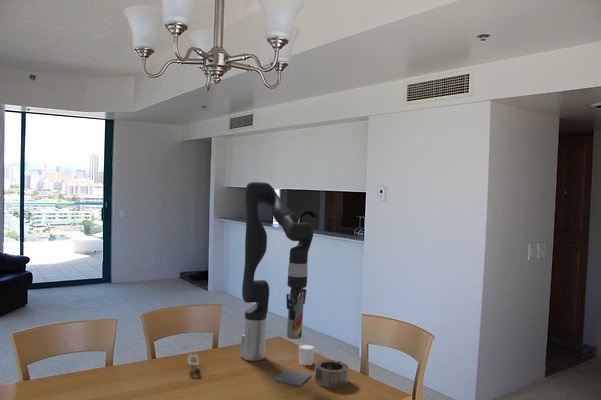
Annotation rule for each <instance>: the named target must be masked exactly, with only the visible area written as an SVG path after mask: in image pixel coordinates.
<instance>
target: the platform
mask: <svg viewBox="0 0 601 400" xmlns="http://www.w3.org/2000/svg"><path fill="white" fill-rule="evenodd" d="M187 364H188V365H190V374H194V375H196V374H197V373H196V369H197V365H199V364H200V362H199V355H198V354H197V353H194V354H190V355H188V356H187Z"/></svg>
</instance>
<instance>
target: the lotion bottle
mask: <svg viewBox="0 0 601 400" xmlns="http://www.w3.org/2000/svg"><path fill="white" fill-rule="evenodd" d="M298 293H302V288H298ZM303 301H304V299H303V298H301V295H300V297H299V300H298V304H296V310H295V320H290V319H289V313H290V310H289V309H287V327H286V330H287V331H286V337H287V338H288V339H290V340H300V339H301V338H302V335H303V320H304V319H303V316H304V304H303ZM294 302H296V300H294ZM289 305H290V304H289Z"/></svg>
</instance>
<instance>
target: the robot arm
mask: <svg viewBox="0 0 601 400" xmlns="http://www.w3.org/2000/svg"><path fill="white" fill-rule="evenodd" d="M244 191H245V192H244V193H245V194H244V196H245V197H244V198H245V199H244V201H245V239H244V240H245V241H244V269H243V278H242V285H241V286H242V287H241V288H242V289H241V295H242V296H241V297H242V299H243V301H244V303H246V304H251V303H255V304H254V305H253V306H252V307H250V308H248V309H246V310H245V312H244V322H243V323H244V327H243V328H244V329H243V334H242V335H241V345H240V346H241V347H240V358H242V359H243V360H246V361H249V362H250V361H251V362H257V361H262V360H264V359H265V354H266V353H265V352H266V351H265V349H266V330H267V329H266V327H267V314H268V309H269V299H270V285H269V283H268V281H266V280H265V279H257V280H256V279H255V274H256V271H257V268H258V266H259V264H260V262H261V261H262V259H264V256H265V255H266V252H267V248H268V247H267V245H268V243H267V242H268V235H267V233H268V232H267V231H266V228H265V227H264V225H263V223H262V221H261V219H260V217H259V216H260V215H259V211H258V210H259V209H258V208H259V207H258V204H259V205H261V204H262V205H268V206H269V207H270V208H271V214H272V217H273V219H274V220H275V221H276V222H277V224H279V226H281V228H282V229H283V232H284V234H285V236H286V238H287V239H289V240H290V241H292V242H298V243H297V244H296V246H293V247H291V248H290V250H289V260H288V261H289V262H288V268H287V287H289V288H290V291H289V293H287V294H286V296H285V298H286V309H287V310H288V309H289V310H290V313H289V319H290V320H295V310H296V304H298V300H299V297H300V295H301V298H303V299H304V301H303V305H305V302H306V298H307V297H306V296H307V289H306V288H307V287H308V272H309V271H308V270H309V269H308V259H309V258H308V256H309V251H310V248H311V244H312V240H313V238H314V229H313V226H312V224H311V223H309V222H298V220H299V219H298V217H297V216H296V214H295V213H294V212H293V211H292V210H290V209H289V207H287V205H285V203H284V202H283V201H282V199H281V198H280V196H279V195H278V193H277V192H276V191H275V189H274V187H273V186H271V184H270V183H268V182H259V181H251V182H250V181H249V182H248V183H247V185H246V186H245V190H244ZM298 288H302V293H298ZM294 300H296V302H294ZM289 304H290V305H289Z"/></svg>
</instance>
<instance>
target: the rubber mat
mask: <svg viewBox="0 0 601 400" xmlns="http://www.w3.org/2000/svg"><path fill="white" fill-rule="evenodd" d="M311 377H312V375H311V374H306V373H303V372H297V371H293V370H289V369H285V370H284V371H282V372H281V373H280V374H278V375H277V376H276V377H274V378H273V381H274V382H275V381H276V382H280V383H284V384H287V385H292V386H297V387H301V386H302V385H304V383H305V382H307V380H309V379H310V378H311Z"/></svg>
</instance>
